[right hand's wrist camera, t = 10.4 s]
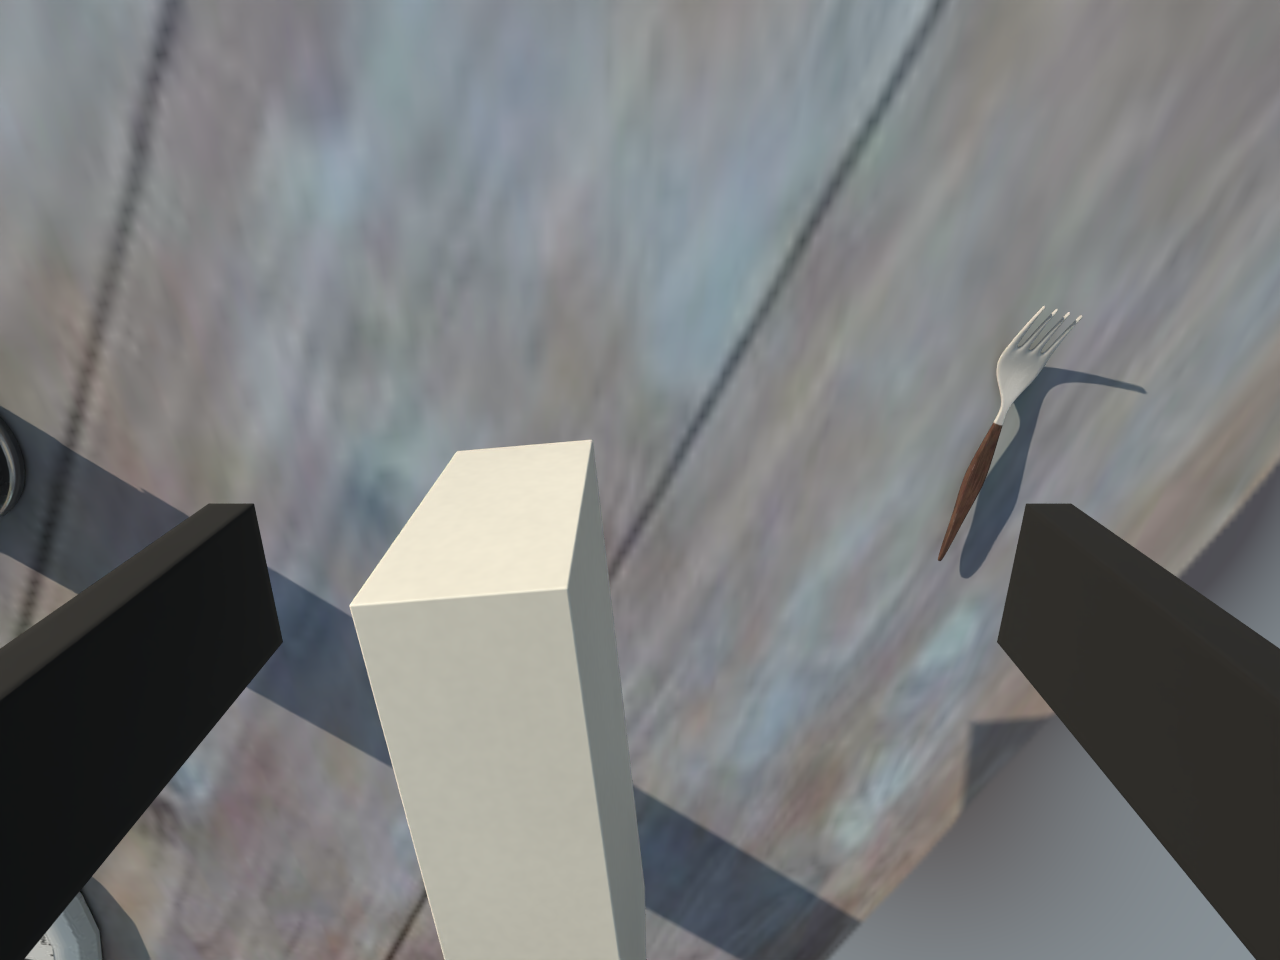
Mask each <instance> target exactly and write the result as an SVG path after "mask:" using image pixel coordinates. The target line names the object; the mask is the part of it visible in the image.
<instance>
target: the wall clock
mask: <svg viewBox="0 0 1280 960" xmlns="http://www.w3.org/2000/svg"><path fill="white" fill-rule="evenodd" d="M24 960H102V952H101V942H100V932H99V929H98V927H97V925H96V923H95V921H94V919H93V917H92V914H91V912H90V910H89V908H88V906H87V904H86V902H85V900H84V898H83V895H82V894H81V893H80V892H79V893H78V894H77V895H76V896H75V898H74V899H73V900H72V901H71V902H70V904H69V905H68V906H67V907H66V909H65V910H64V911H63V912H62V914H61V915H60V916H59V917H58V918H57V920H56V921H55V922H54V923H53V925H52V926H51V927H50V928H49V929H48V931H47V932H46V933H45V934H44V936H43V937H42V938H41V939H40V941H39V942H38V943H37V944H36V945H35V947H34V948H33V949H32V950H31V952H30V953H29V954H28V955H27V956H26V958H25V959H24Z"/></svg>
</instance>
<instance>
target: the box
mask: <svg viewBox="0 0 1280 960" xmlns="http://www.w3.org/2000/svg"><path fill="white" fill-rule="evenodd" d="M350 610H351V613H352V617H353V621H354V624H355V628H356V632H357V636H358V639H359V643H360V647H361V650H362V654H363V658H364V662H365V665H366V669H367V673H368V677H369V680H370V684H371V688H372V691H373V695H374V699H375V703H376V706H377V710H378V714H379V717H380V721H381V725H382V729H383V732H384V736H385V740H386V743H387V747H388V751H389V755H390V758H391V762H392V766H393V769H394V773H395V777H396V781H397V784H398V788H399V792H400V796H401V799H402V803H403V807H404V810H405V814H406V818H407V822H408V825H409V829H410V833H411V836H412V840H413V844H414V848H415V851H416V855H417V859H418V862H419V866H420V870H421V874H422V877H423V881H424V885H425V889H426V892H427V896H428V900H429V903H430V907H431V911H432V915H433V918H434V922H435V926H436V929H437V933H438V937H439V941H440V944H441V948H442V952H443V955H444V959H445V960H646V921H645V885H644V877H643V868H642V860H641V851H640V842H639V834H638V825H637V817H636V808H635V799H634V791H633V782H632V773H631V765H630V756H629V748H628V739H627V730H626V722H625V713H624V705H623V696H622V687H621V679H620V670H619V661H618V653H617V644H616V636H615V627H614V618H613V610H612V601H611V593H610V584H609V575H608V567H607V558H606V550H605V541H604V532H603V524H602V515H601V506H600V498H599V489H598V481H597V472H596V463H595V455H594V446H593V441H592V440H583V441H572V442H560V443H548V444H537V445H525V446H513V447H502V448H490V449H479V450H467V451H457V452H456V453H455V455H454V456H453V458H452V459H451V461H450V462H449V463H448V465H447V466H446V468H445V469H444V471H443V472H442V473H441V475H440V476H439V478H438V479H437V481H436V482H435V484H434V485H433V486H432V488H431V489H430V491H429V492H428V494H427V495H426V496H425V498H424V499H423V501H422V502H421V504H420V505H419V506H418V508H417V509H416V511H415V512H414V514H413V515H412V516H411V518H410V519H409V521H408V522H407V524H406V525H405V527H404V528H403V529H402V531H401V532H400V534H399V535H398V537H397V538H396V539H395V541H394V542H393V544H392V545H391V547H390V548H389V549H388V551H387V552H386V554H385V555H384V557H383V558H382V559H381V561H380V562H379V564H378V565H377V567H376V568H375V570H374V571H373V572H372V574H371V575H370V577H369V578H368V580H367V581H366V582H365V584H364V585H363V587H362V588H361V590H360V591H359V592H358V594H357V595H356V597H355V598H354V600H353V601H352V603H351V604H350Z"/></svg>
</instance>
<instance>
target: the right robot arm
mask: <svg viewBox="0 0 1280 960" xmlns="http://www.w3.org/2000/svg"><path fill="white" fill-rule="evenodd" d="M282 642H283V640H282V636H281V631H280V626H279V621H278V617H277V612H276V607H275V602H274V597H273V593H272V588H271V583H270V578H269V573H268V569H267V564H266V559H265V554H264V550H263V545H262V540H261V535H260V530H259V526H258V521H257V516H256V511H255V507H254V504H208V505H206V506H205V507H203V508H202V509H201V510H199V511H198V512H196V513H195V514H193V515H192V516H190V517H189V518H188V519H186V520H185V521H183V522H182V523H180V524H179V525H178V526H176V527H175V528H173V529H172V530H170V531H169V532H167V533H166V534H165V535H163V536H162V537H160V538H159V539H157V540H156V541H155V542H153V543H152V544H150V545H149V546H147V547H146V548H144V549H143V550H142V551H140V552H139V553H137V554H136V555H134V556H133V557H132V558H130V559H129V560H127V561H126V562H124V563H123V564H121V565H120V566H119V567H117V568H116V569H114V570H113V571H111V572H110V573H109V574H107V575H106V576H104V577H103V578H101V579H100V580H98V581H97V582H96V583H94V584H93V585H91V586H90V587H88V588H87V589H86V590H84V591H83V592H81V593H80V594H78V595H77V596H75V597H74V598H73V599H71V600H70V601H68V602H67V603H65V604H64V605H63V606H61V607H60V608H58V609H57V610H55V611H54V612H52V613H51V614H50V615H48V616H47V617H45V618H44V619H42V620H41V621H40V622H38V623H37V624H35V625H34V626H32V627H31V628H29V629H28V630H27V631H25V632H24V633H22V634H21V635H19V636H18V637H17V638H15V639H14V640H12V641H11V642H9V643H8V644H6V645H5V646H4V647H2V648H1V649H0V960H24V959H25V958H26V956H27V955H28V954H29V953H30V952H31V950H32V949H33V948H34V947H35V945H36V944H37V943H38V942H39V941H40V939H41V938H42V937H43V936H44V934H45V933H46V932H47V931H48V929H49V928H50V927H51V926H52V925H53V923H54V922H55V921H56V920H57V918H58V917H59V916H60V915H61V914H62V912H63V911H64V910H65V909H66V907H67V906H68V905H69V904H70V902H71V901H72V900H73V899H74V898H75V896H76V895H77V894H78V893H79V891H80V890H81V889H82V888H83V887H84V885H85V884H86V883H87V882H88V880H89V879H90V878H91V877H92V875H93V874H94V873H95V872H96V871H97V869H98V868H99V867H100V866H101V864H102V863H103V862H104V861H105V860H106V858H107V857H108V856H109V855H110V853H111V852H112V851H113V850H114V849H115V847H116V846H117V845H118V844H119V842H120V841H121V840H122V839H123V837H124V836H125V835H126V834H127V833H128V831H129V830H130V829H131V828H132V826H133V825H134V824H135V823H136V822H137V820H138V819H139V818H140V817H141V815H142V814H143V813H144V812H145V810H146V809H147V808H148V807H149V806H150V804H151V803H152V802H153V801H154V799H155V798H156V797H157V796H158V795H159V793H160V792H161V791H162V790H163V788H164V787H165V786H166V785H167V783H168V782H169V781H170V780H171V779H172V777H173V776H174V775H175V774H176V772H177V771H178V770H179V769H180V768H181V766H182V765H183V764H184V763H185V761H186V760H187V759H188V758H189V756H190V755H191V754H192V753H193V752H194V750H195V749H196V748H197V747H198V745H199V744H200V743H201V742H202V741H203V739H204V738H205V737H206V736H207V734H208V733H209V732H210V731H211V730H212V728H213V727H214V726H215V725H216V723H217V722H218V721H219V720H220V718H221V717H222V716H223V715H224V714H225V712H226V711H227V710H228V709H229V707H230V706H231V705H232V704H233V703H234V701H235V700H236V699H237V698H238V696H239V695H240V694H241V693H242V691H243V690H244V689H245V688H246V687H247V685H248V684H249V683H250V682H251V680H252V679H253V678H254V677H255V676H256V674H257V673H258V672H259V671H260V669H261V668H262V667H263V666H264V664H265V663H266V662H267V661H268V660H269V658H270V657H271V656H272V655H273V653H274V652H275V651H276V650H277V649H278V647H279V646H280V645H281V644H282ZM997 642H998V644H999V645H1000V646H1001V647H1002V649H1003V650H1004V651H1005V652H1006V653H1007V655H1008V656H1009V657H1010V658H1011V660H1012V661H1013V662H1014V663H1015V664H1016V666H1017V667H1018V668H1019V669H1020V671H1021V672H1022V673H1023V674H1024V676H1025V677H1026V678H1027V679H1028V680H1029V682H1030V683H1031V684H1032V685H1033V687H1034V688H1035V689H1036V690H1037V691H1038V693H1039V694H1040V695H1041V696H1042V698H1043V699H1044V700H1045V701H1046V703H1047V704H1048V705H1049V706H1050V707H1051V709H1052V710H1053V711H1054V712H1055V714H1056V715H1057V716H1058V717H1059V718H1060V720H1061V721H1062V722H1063V723H1064V725H1065V726H1066V727H1067V728H1068V730H1069V731H1070V732H1071V733H1072V734H1073V736H1074V737H1075V738H1076V739H1077V741H1078V742H1079V743H1080V744H1081V745H1082V747H1083V748H1084V749H1085V750H1086V752H1087V753H1088V754H1089V755H1090V756H1091V758H1092V759H1093V760H1094V761H1095V763H1096V764H1097V765H1098V766H1099V767H1100V769H1101V770H1102V771H1103V772H1104V774H1105V775H1106V776H1107V777H1108V779H1109V780H1110V781H1111V782H1112V783H1113V785H1114V786H1115V787H1116V788H1117V790H1118V791H1119V792H1120V793H1121V795H1122V796H1123V797H1124V798H1125V799H1126V801H1127V802H1128V803H1129V804H1130V806H1131V807H1132V808H1133V809H1134V810H1135V812H1136V813H1137V814H1138V815H1139V817H1140V818H1141V819H1142V820H1143V821H1144V823H1145V824H1146V825H1147V826H1148V828H1149V829H1150V830H1151V831H1152V833H1153V834H1154V835H1155V836H1156V837H1157V839H1158V840H1159V841H1160V842H1161V844H1162V845H1163V846H1164V847H1165V849H1166V850H1167V851H1168V852H1169V853H1170V855H1171V856H1172V857H1173V858H1174V860H1175V861H1176V862H1177V863H1178V864H1179V866H1180V867H1181V868H1182V869H1183V871H1184V872H1185V873H1186V874H1187V875H1188V877H1189V878H1190V879H1191V880H1192V882H1193V883H1194V884H1195V885H1196V887H1197V888H1198V889H1199V890H1200V891H1201V893H1202V894H1203V895H1204V896H1205V898H1206V899H1207V900H1208V901H1209V902H1210V904H1211V905H1212V906H1213V907H1214V909H1215V910H1216V911H1217V912H1218V914H1219V915H1220V916H1221V917H1222V918H1223V920H1224V921H1225V922H1226V923H1227V925H1228V926H1229V927H1230V928H1231V929H1232V931H1233V932H1234V933H1235V934H1236V936H1237V937H1238V938H1239V939H1240V941H1241V942H1242V943H1243V944H1244V945H1245V947H1246V948H1247V949H1248V950H1249V952H1250V953H1251V954H1252V955H1253V956H1254V958H1255V959H1256V960H1280V649H1279V648H1278V647H1276V646H1275V645H1274V644H1272V643H1271V642H1269V641H1268V640H1266V639H1265V638H1263V637H1262V636H1261V635H1259V634H1258V633H1256V632H1255V631H1253V630H1252V629H1251V628H1249V627H1248V626H1246V625H1245V624H1243V623H1242V622H1240V621H1239V620H1238V619H1236V618H1235V617H1233V616H1232V615H1230V614H1229V613H1227V612H1226V611H1225V610H1223V609H1222V608H1220V607H1219V606H1217V605H1216V604H1215V603H1213V602H1212V601H1210V600H1209V599H1207V598H1206V597H1205V596H1203V595H1202V594H1200V593H1199V592H1197V591H1196V590H1194V589H1193V588H1192V587H1190V586H1189V585H1187V584H1186V583H1184V582H1183V581H1182V580H1180V579H1179V578H1177V577H1176V576H1174V575H1173V574H1171V573H1170V572H1169V571H1167V570H1166V569H1164V568H1163V567H1161V566H1160V565H1159V564H1157V563H1156V562H1154V561H1153V560H1151V559H1150V558H1148V557H1147V556H1146V555H1144V554H1143V553H1141V552H1140V551H1138V550H1137V549H1136V548H1134V547H1133V546H1131V545H1130V544H1128V543H1127V542H1125V541H1124V540H1123V539H1121V538H1120V537H1118V536H1117V535H1115V534H1114V533H1113V532H1111V531H1110V530H1108V529H1107V528H1105V527H1104V526H1102V525H1101V524H1100V523H1098V522H1097V521H1095V520H1094V519H1092V518H1091V517H1090V516H1088V515H1087V514H1085V513H1084V512H1082V511H1081V510H1079V509H1078V508H1077V507H1075V506H1074V505H1072V504H1026V507H1025V511H1024V516H1023V521H1022V526H1021V530H1020V535H1019V540H1018V545H1017V550H1016V554H1015V559H1014V564H1013V569H1012V573H1011V578H1010V583H1009V588H1008V593H1007V597H1006V602H1005V607H1004V612H1003V617H1002V621H1001V626H1000V631H999V636H998V640H997Z"/></svg>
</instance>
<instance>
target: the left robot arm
mask: <svg viewBox="0 0 1280 960" xmlns="http://www.w3.org/2000/svg"><path fill="white" fill-rule="evenodd" d="M24 482H25V467H24V460H23V456H22V453H21V450H20V447H19V445H18V443H17V441H16V439H15V437H14V435H13V433H12V432H11V430H10V429H9V427H8V426H7V424H6V423H5V422H4V421H3V419H2V418H1V417H0V517H2V516H4V515H5V514H6V513H8V512H9V511H10V510H11V509H12V508H13V507H14V506H15V504H16V503H17V502H18V500H19V498H20V496H21V494H22V491H23V487H24Z"/></svg>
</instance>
